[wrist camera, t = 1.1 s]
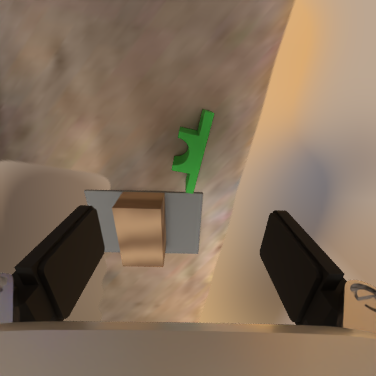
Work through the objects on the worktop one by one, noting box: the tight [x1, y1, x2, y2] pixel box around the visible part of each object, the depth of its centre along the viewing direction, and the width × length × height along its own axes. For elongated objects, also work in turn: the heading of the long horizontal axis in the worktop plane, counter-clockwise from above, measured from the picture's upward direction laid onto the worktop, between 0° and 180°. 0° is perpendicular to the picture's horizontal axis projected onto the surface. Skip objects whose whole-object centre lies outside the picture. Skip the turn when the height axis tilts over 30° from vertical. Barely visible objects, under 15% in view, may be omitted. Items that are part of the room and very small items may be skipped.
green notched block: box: [172, 109, 214, 194], centre depth 26 cm, size 11×4×5 cm, turn 167°
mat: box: [84, 190, 203, 254], centre depth 34 cm, size 14×20×1 cm
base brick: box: [112, 192, 166, 267], centre depth 31 cm, size 12×7×5 cm, turn 178°
